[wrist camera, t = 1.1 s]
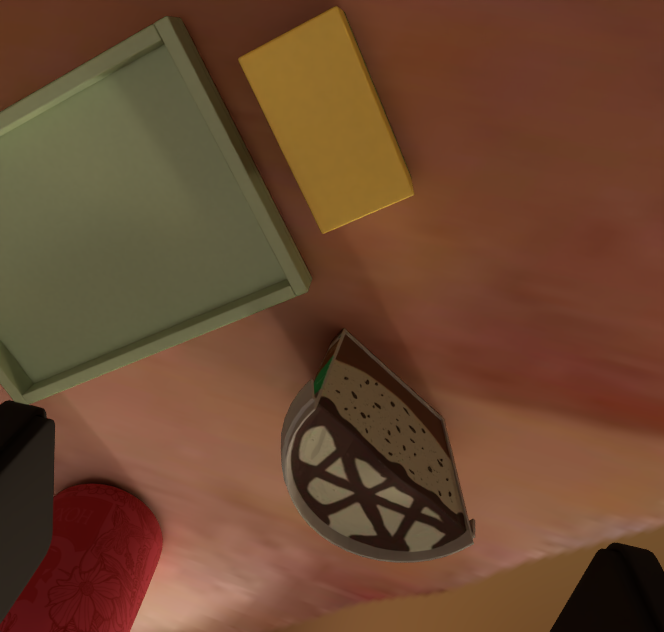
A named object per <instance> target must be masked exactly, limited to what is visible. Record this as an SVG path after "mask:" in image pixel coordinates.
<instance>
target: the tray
mask: <svg viewBox="0 0 664 632" xmlns="http://www.w3.org/2000/svg"><path fill="white" fill-rule="evenodd" d="M311 281H312V277H311V275H310V273H309V271H308V269H307V267H306V265H305V263H304V261H303V259H302V257H301V255H300V253H299V251H298V249H297V247H296V245H295V243H294V241H293V239H292V237H291V235H290V233H289V232H288V230H287V228H286V226H285V224H284V222H283V220H282V218H281V216H280V214H279V212H278V210H277V208H276V206H275V204H274V202H273V200H272V198H271V196H270V194H269V192H268V190H267V188H266V186H265V184H264V182H263V180H262V178H261V176H260V174H259V172H258V170H257V168H256V166H255V164H254V162H253V160H252V158H251V156H250V154H249V152H248V150H247V148H246V146H245V144H244V142H243V140H242V138H241V136H240V134H239V132H238V130H237V128H236V126H235V124H234V122H233V120H232V118H231V116H230V114H229V113H228V111H227V109H226V107H225V105H224V103H223V101H222V99H221V97H220V95H219V93H218V91H217V89H216V87H215V85H214V83H213V81H212V79H211V77H210V75H209V73H208V71H207V69H206V67H205V65H204V63H203V61H202V59H201V57H200V55H199V53H198V51H197V49H196V47H195V45H194V43H193V41H192V39H191V37H190V35H189V33H188V31H187V29H186V27H185V25H184V23H183V21H182V19H181V18H178V17H170V16H165V17H164V18H162V19H160V20H158V21H157V22H155V23H154V24H152V25H150V26H148V27H146V28H145V29H143V30H141V31H139V32H138V33H136V34H134V35H133V36H131V37H129V38H127V39H126V40H124V41H122V42H120V43H119V44H117V45H115V46H113V47H112V48H110V49H108V50H107V51H105V52H103V53H101V54H100V55H98V56H96V57H94V58H93V59H91V60H89V61H88V62H86V63H84V64H82V65H81V66H79V67H77V68H75V69H74V70H72V71H70V72H68V73H67V74H65V75H63V76H62V77H60V78H58V79H56V80H55V81H53V82H51V83H49V84H48V85H46V86H44V87H42V88H41V89H39V90H37V91H36V92H34V93H32V94H30V95H29V96H27V97H25V98H23V99H22V100H20V101H18V102H16V103H15V104H13V105H11V106H10V107H8V108H6V109H4V110H3V111H1V112H0V384H1V385H2V386H3V387H4V389H5V390H6V391H7V393H8V394H9V395H10V396H11V398H12V399H13V400H14V401H15V402H19V403H23V404H27V405H29V404H31V403H34V402H36V401H39V400H41V399H44V398H46V397H49V396H51V395H54V394H56V393H59V392H61V391H64V390H66V389H69V388H71V387H74V386H76V385H79V384H81V383H84V382H86V381H88V380H91V379H93V378H96V377H98V376H101V375H103V374H106V373H108V372H111V371H113V370H116V369H118V368H121V367H123V366H126V365H128V364H131V363H133V362H136V361H138V360H140V359H143V358H145V357H148V356H150V355H153V354H155V353H158V352H160V351H163V350H165V349H168V348H170V347H173V346H175V345H178V344H180V343H183V342H185V341H188V340H190V339H193V338H195V337H197V336H200V335H202V334H205V333H207V332H210V331H212V330H215V329H217V328H220V327H222V326H225V325H227V324H230V323H232V322H235V321H237V320H240V319H242V318H245V317H247V316H249V315H252V314H254V313H257V312H259V311H262V310H264V309H267V308H269V307H272V306H274V305H277V304H279V303H282V302H284V301H287V300H289V299H292V298H294V297H296V296H299V295H301V294H304V293H306V292H308V290H309V287H310V284H311Z"/></svg>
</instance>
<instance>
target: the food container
mask: <svg viewBox="0 0 664 632" xmlns="http://www.w3.org/2000/svg"><path fill="white" fill-rule="evenodd" d="M281 461H282V470H283V476H284V481H285V483H286V486H287V489H288V492H289V494H290V496H291V499H292V501H293V503H294V505H295V507H296V508H297V510H298V512H299V513H300V515H301V516H302V517H303V518H304V520H305V521H306V522H307V523H308V525H309V526H311V527H312V528H313V529H314V530H315V531H316V532H317V533H318V534H319V535H321V536H322V537H324V538H325V539H326V540H328V541H329V542H331V543H332V544H334V545H336V546H338V547H340V548H342V549H344V550H346V551H348V552H351V553H354V554H357V555H359V556H362V557H366V558H370V559H375V560H379V561H388V562H420V561H429V560H433V559H437V558H441V557H446V556H448V555H451V554H453V553H456V552H459V551H461V550H463V549H465V548H467V547H469V546H471V545H473V544H474V543H473V538H475V520H474V519H471V520H470V521H469V519H468V515H467V511H466V507H465V503H464V499H463V495H462V490H461V486H460V482H459V478H458V474H457V470H456V466H455V462H454V457H453V453H452V449H451V445H450V441H449V437H448V433H447V428H446V424H445V420H444V419H443V418H442V417H441V416H440V415H439V414H438V413H437V412H436V411H435V410H434V409H433V408H431V407H430V406H429V405H428V404H427V403H426V402H425V401H424V400H423V399H422V398H420V397H419V396H418V395H417V394H416V393H415V392H414V391H413V390H412V389H411V388H409V387H408V386H407V385H406V384H405V383H404V382H403V381H402V380H401V379H400V378H398V377H397V376H396V375H395V374H394V373H393V372H392V371H391V370H390V369H389V368H387V367H386V366H385V365H384V364H383V363H382V362H381V361H380V360H379V359H378V358H376V357H375V356H374V355H373V354H372V353H371V352H370V351H369V350H368V349H367V348H365V347H364V346H363V345H362V344H361V343H360V342H359V341H358V340H357V339H356V338H354V337H353V336H352V335H351V334H350V333H349V332H348V331H347V330H346V329H345V328H343V329H342V331H341V332H340V333H339V334H338V335H337V336H336V337H335V338H334V339H333V340H332V342H331V344H330V346H329V348H328V350H327V353H326V355H325V357H324V359H323V361H322V363H321V366H320V368H319V370H318V373H317V375H316V378H315V380H312V379H311V380H310V381H309V382H308V383H307V384H306V385H305V386H304V387H303V388H302V389H301V390H300V391H299V393H298V394H297V396H296V397H295V399H294V400H293V402H292V403H291V405H290V407H289V410H288V412H287V414H286V417H285V419H284V423H283V428H282V432H281Z"/></svg>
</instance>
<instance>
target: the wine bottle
mask: <svg viewBox="0 0 664 632" xmlns="http://www.w3.org/2000/svg"><path fill="white" fill-rule="evenodd" d="M162 541H163V538H162V532H161V529H160V526H159V523H158V521H157V519H156V517H155V516H154V514H153V513H152V512H151V510H150V509H149V508H148V507H147V506H146V505H145V504H144V503H143V502H142V501H140V500H139V499H138V498H136V497H135V496H133V495H131V494H130V493H128V492H126V491H124V490H121V489H119V488H116V487H113V486H109V485H104V484H94V483H89V484H80V485H76V486H72V487H69V488H67V489H65V490H63V491H61V492H59V493H58V494H57V495H55V496H54V497H53V534H52V540H51V544H50V547H49V550H48V552H47V554H46V556H45V557H44V559H43V561H42V562H41V564H40V565H39V567H38V568H37V570H36V571H35V573H34V574H33V576H32V577H31V579H30V580H29V582H28V583H27V585H26V586H25V588H24V589H23V591H22V592H21V594H20V595H19V597H18V598H17V600H16V601H15V603H14V604H13V606H12V607H11V609H10V610H9V612H8V613H7V615H6V617H5V618H4V620H3V621H2V623H1V624H0V632H130V630H131V627H132V625H133V623H134V620H135V618H136V616H137V613H138V611H139V608H140V606H141V604H142V601H143V599H144V596H145V594H146V592H147V589H148V587H149V584H150V582H151V579H152V577H153V574H154V572H155V569H156V566H157V564H158V561H159V558H160V555H161V551H162Z"/></svg>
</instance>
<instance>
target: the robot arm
mask: <svg viewBox="0 0 664 632" xmlns="http://www.w3.org/2000/svg"><path fill="white" fill-rule="evenodd" d="M54 449H55V423H54V421H53V420H51V419H47V416H46V412H45V410H44V409H43V408H40V407H36V406H32V405H27V404H23V403H19V402H15V401H10V400H9V401H5V402H4V403H2V404H1V405H0V624H1V623H2V621H3V620H4V618H5V617H6V615H7V613H8V612H9V610H10V609H11V607H12V606H13V604H14V603H15V601H16V600H17V598H18V597H19V595H20V594H21V592H22V591H23V589H24V588H25V586H26V585H27V583H28V582H29V580H30V579H31V577H32V576H33V574H34V573H35V571H36V570H37V568H38V567H39V565H40V564H41V562H42V561H43V559H44V557H45V556H46V554H47V552H48V550H49V547H50V544H51V540H52V534H53V493H54ZM550 632H664V571H663V569H662V567H661V565H660V563H659V562H658V560H657V558H656V557H655V555H654V554H653V553H652V552H650V551H649V550H646V549H641V548H638V547H633V546H629V545H625V544H620V543H612V544H610V545H609V546H608V547H607V548H606V549H600V550H598V552H597V553H596V554H595V556H594V558H593V559H592V561H591V563H590V564H589V566H588V568H587V569H586V571H585V573H584V575H583V576H582V578H581V580H580V581H579V583H578V585H577V586H576V588H575V590H574V591H573V593H572V595H571V597H570V598H569V600H568V602H567V603H566V605H565V607H564V609H563V610H562V612H561V613H560V615H559V617H558V619H557V620H556V622H555V624H554V625H553V627H552V629H551V630H550Z"/></svg>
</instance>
